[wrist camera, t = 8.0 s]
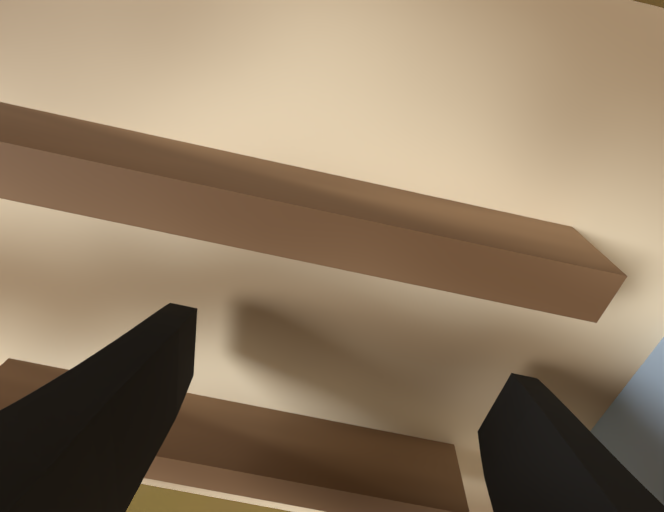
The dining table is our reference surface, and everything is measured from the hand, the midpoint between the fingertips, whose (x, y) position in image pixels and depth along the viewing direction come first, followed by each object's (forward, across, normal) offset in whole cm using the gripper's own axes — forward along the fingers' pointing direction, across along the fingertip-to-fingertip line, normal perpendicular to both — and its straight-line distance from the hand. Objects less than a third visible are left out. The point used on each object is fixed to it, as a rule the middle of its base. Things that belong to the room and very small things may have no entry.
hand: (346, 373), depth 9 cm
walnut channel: (+1, +3, 0) cm, 3 cm away
